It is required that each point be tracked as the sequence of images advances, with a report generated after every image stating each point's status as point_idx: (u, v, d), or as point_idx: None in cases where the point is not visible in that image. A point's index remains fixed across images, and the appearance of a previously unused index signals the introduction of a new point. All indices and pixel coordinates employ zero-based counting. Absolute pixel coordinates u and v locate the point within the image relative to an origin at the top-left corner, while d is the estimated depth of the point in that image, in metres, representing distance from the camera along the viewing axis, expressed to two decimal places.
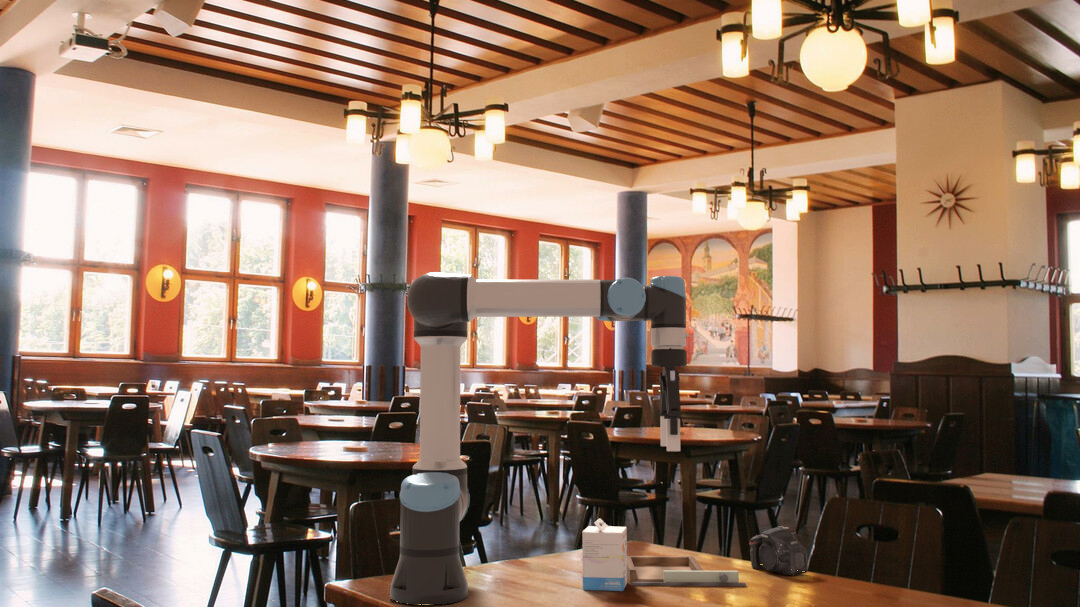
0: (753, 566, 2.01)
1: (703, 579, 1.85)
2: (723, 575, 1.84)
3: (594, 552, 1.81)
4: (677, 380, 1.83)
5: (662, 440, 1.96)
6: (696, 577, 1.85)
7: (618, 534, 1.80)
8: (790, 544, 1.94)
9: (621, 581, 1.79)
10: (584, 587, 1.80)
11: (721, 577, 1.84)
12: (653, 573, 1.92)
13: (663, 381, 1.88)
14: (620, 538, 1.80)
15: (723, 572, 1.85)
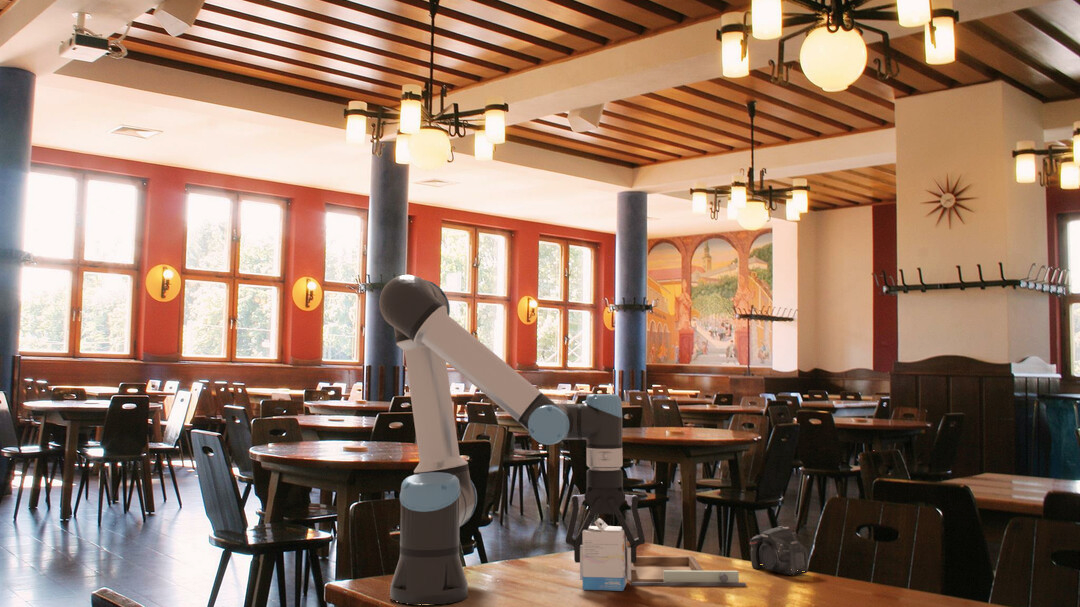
0: (753, 566, 2.01)
1: (703, 579, 1.85)
2: (723, 575, 1.84)
3: (594, 552, 1.81)
4: (573, 506, 1.84)
5: None
6: (696, 577, 1.85)
7: (618, 534, 1.80)
8: (790, 544, 1.94)
9: (621, 581, 1.79)
10: (584, 587, 1.80)
11: (721, 577, 1.84)
12: (653, 573, 1.92)
13: None
14: (620, 538, 1.80)
15: (723, 572, 1.85)
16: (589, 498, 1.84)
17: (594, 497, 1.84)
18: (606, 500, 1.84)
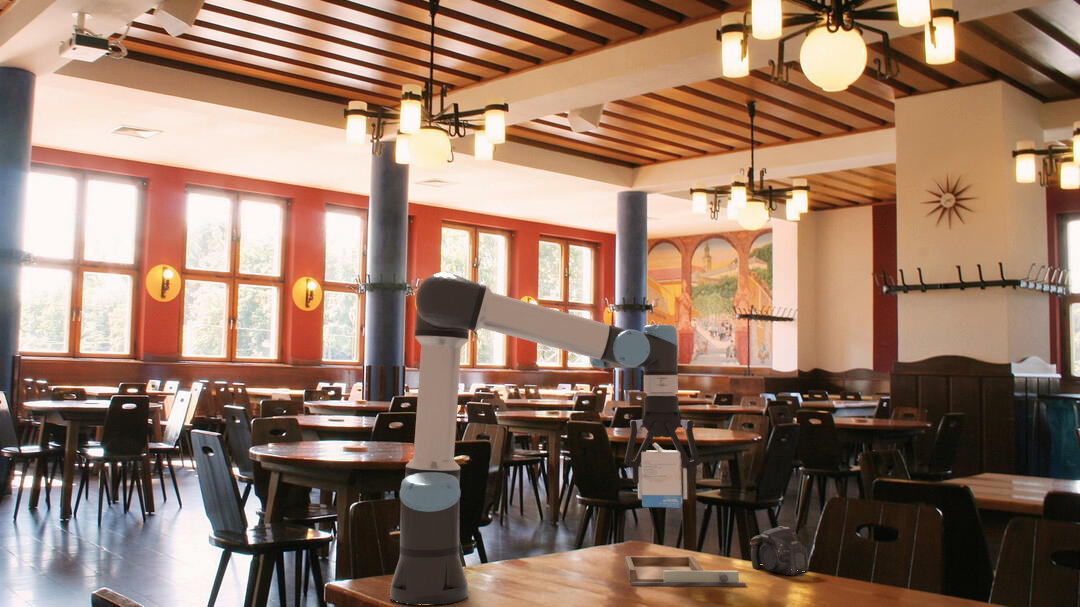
0: (754, 566, 2.01)
1: (703, 579, 1.85)
2: (723, 575, 1.84)
3: (652, 471, 1.92)
4: (631, 430, 1.95)
5: (682, 491, 1.96)
6: (696, 577, 1.85)
7: (675, 454, 1.91)
8: (790, 544, 1.94)
9: (678, 498, 1.90)
10: (643, 504, 1.91)
11: (721, 577, 1.84)
12: (653, 573, 1.92)
13: None
14: (677, 458, 1.91)
15: (723, 572, 1.85)
16: (647, 422, 1.95)
17: (651, 421, 1.95)
18: (663, 424, 1.95)
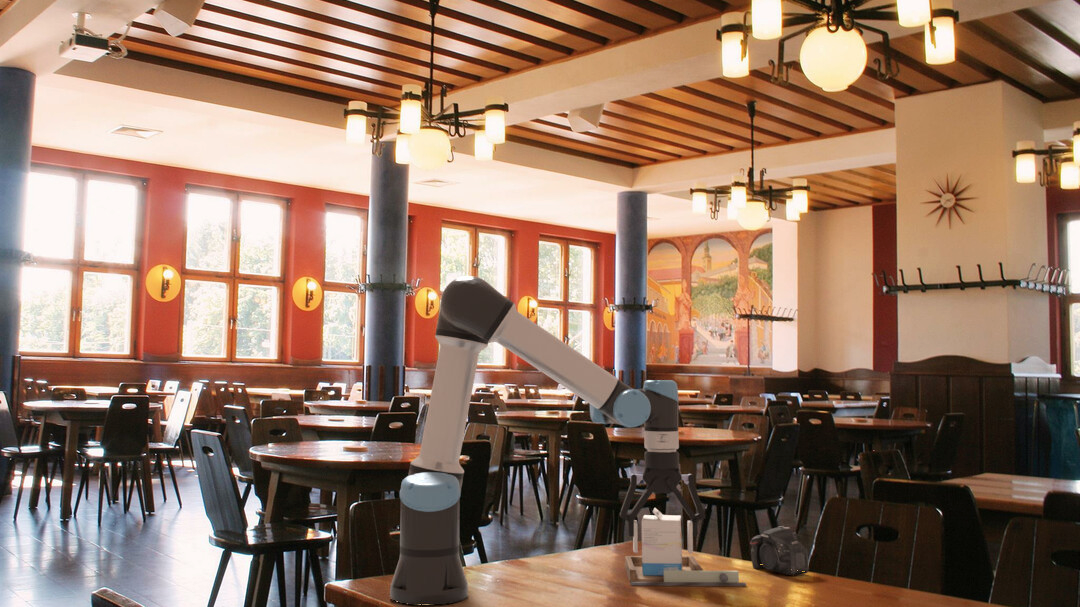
0: (754, 566, 2.01)
1: (703, 579, 1.85)
2: (723, 575, 1.84)
3: (653, 539, 1.90)
4: (631, 484, 1.94)
5: None
6: (696, 577, 1.85)
7: (676, 522, 1.90)
8: (791, 544, 1.94)
9: (679, 566, 1.89)
10: (644, 572, 1.90)
11: (721, 577, 1.84)
12: None
13: None
14: (678, 526, 1.90)
15: (723, 572, 1.85)
16: (647, 478, 1.94)
17: (652, 478, 1.94)
18: (663, 481, 1.94)
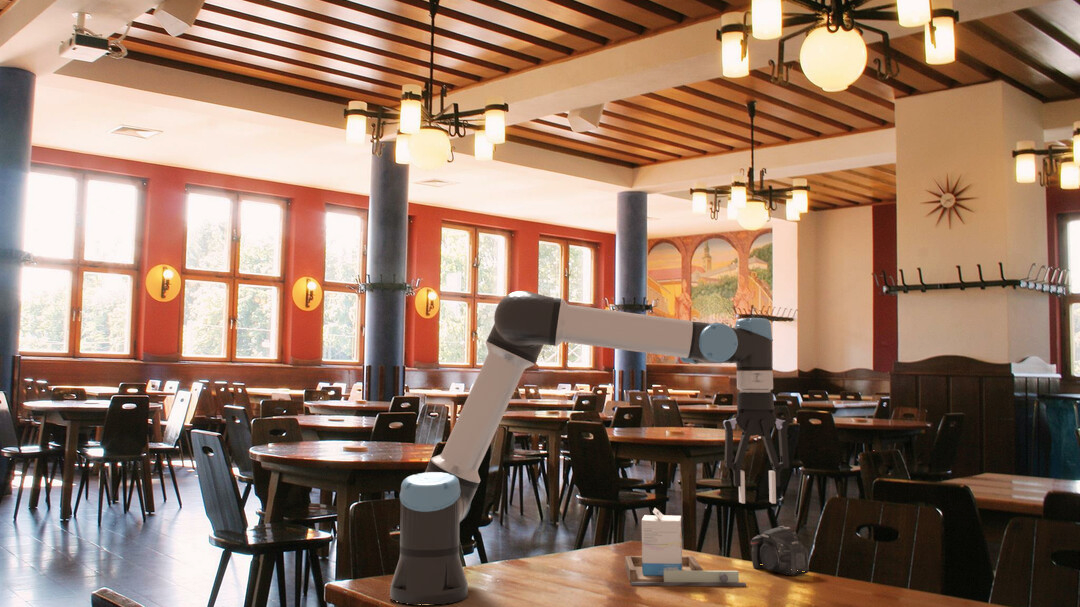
0: (754, 566, 2.01)
1: (703, 579, 1.85)
2: (723, 575, 1.84)
3: (653, 539, 1.90)
4: (727, 431, 1.87)
5: (769, 495, 1.88)
6: (696, 577, 1.85)
7: (676, 522, 1.90)
8: (791, 544, 1.94)
9: (679, 567, 1.89)
10: (644, 573, 1.90)
11: (721, 577, 1.84)
12: None
13: None
14: (678, 526, 1.90)
15: (723, 572, 1.85)
16: (741, 420, 1.87)
17: (746, 418, 1.87)
18: (758, 421, 1.87)
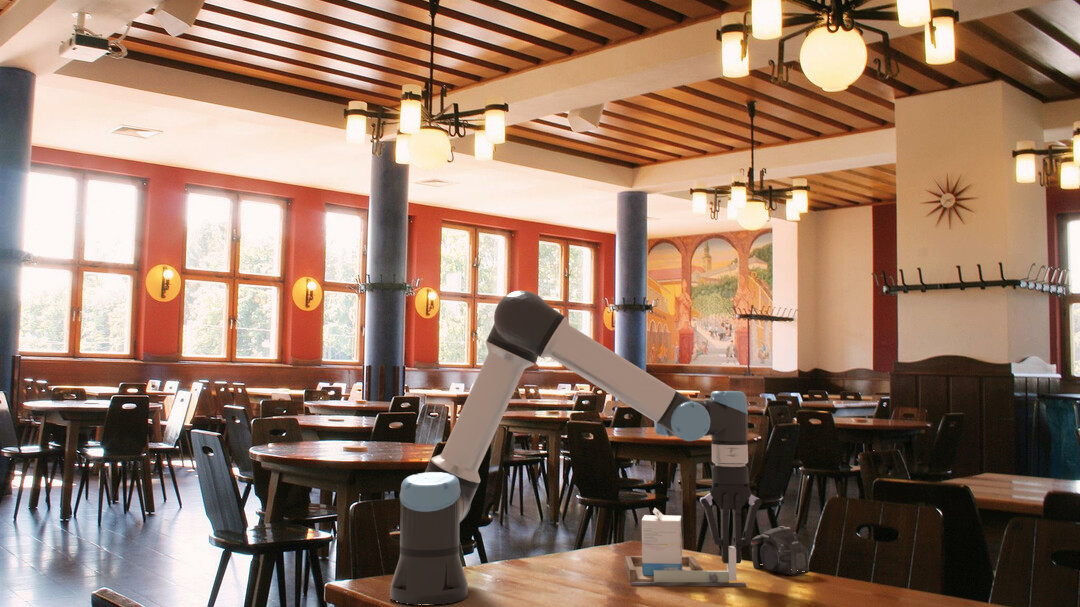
0: (755, 566, 2.01)
1: (693, 579, 1.85)
2: (713, 575, 1.84)
3: (653, 539, 1.90)
4: (705, 509, 1.86)
5: None
6: (686, 577, 1.85)
7: (676, 522, 1.90)
8: (791, 544, 1.94)
9: (679, 567, 1.89)
10: (644, 572, 1.90)
11: (711, 577, 1.84)
12: None
13: None
14: (678, 526, 1.90)
15: (713, 572, 1.85)
16: (716, 494, 1.86)
17: (720, 491, 1.86)
18: (733, 494, 1.86)
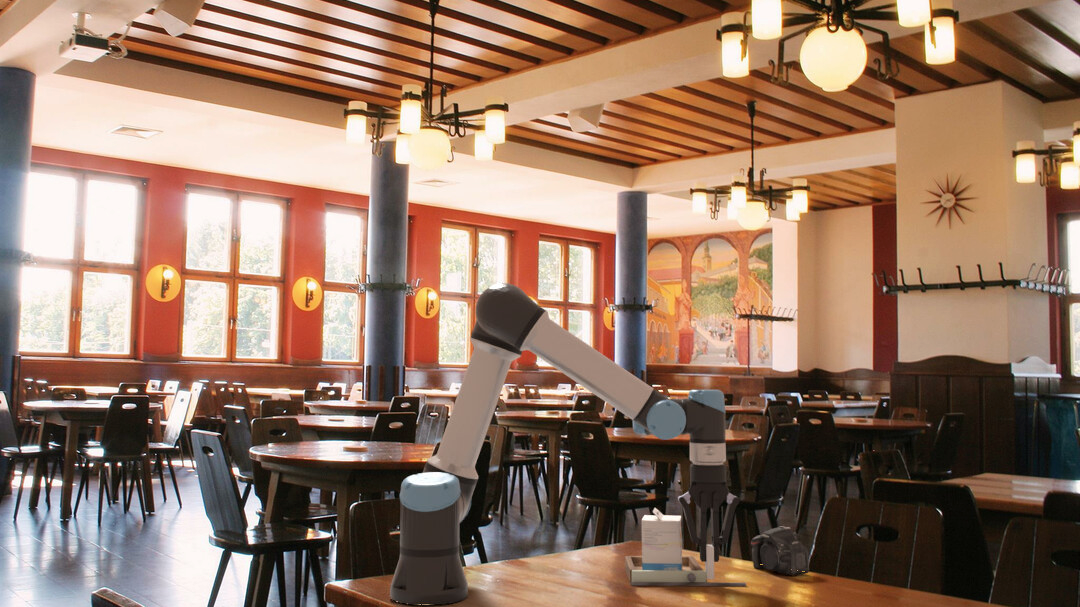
0: (755, 566, 2.01)
1: (671, 579, 1.85)
2: (691, 575, 1.84)
3: (653, 539, 1.90)
4: (683, 507, 1.86)
5: None
6: (664, 576, 1.85)
7: (676, 522, 1.90)
8: (791, 544, 1.94)
9: (679, 567, 1.89)
10: None
11: (689, 577, 1.84)
12: None
13: None
14: (678, 526, 1.90)
15: (691, 572, 1.85)
16: (694, 493, 1.86)
17: (698, 489, 1.86)
18: (711, 492, 1.86)
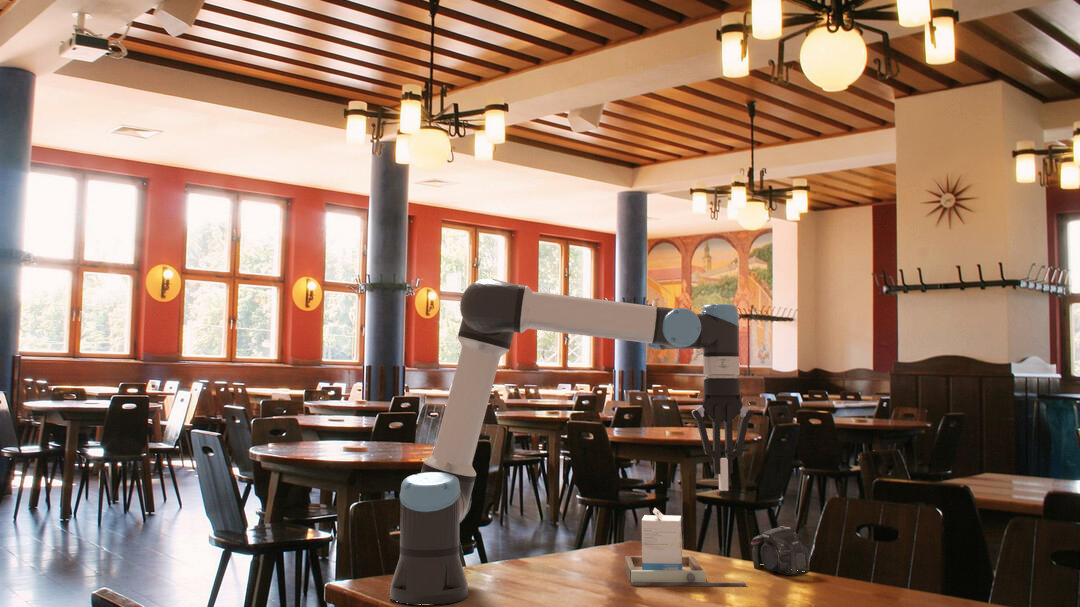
0: (755, 566, 2.01)
1: (670, 579, 1.85)
2: (690, 575, 1.84)
3: (653, 539, 1.90)
4: (697, 420, 1.87)
5: None
6: (663, 576, 1.85)
7: (676, 522, 1.90)
8: (791, 544, 1.94)
9: (679, 567, 1.89)
10: None
11: (688, 577, 1.84)
12: None
13: None
14: (678, 526, 1.90)
15: (690, 572, 1.85)
16: (708, 406, 1.87)
17: (712, 403, 1.87)
18: (724, 405, 1.87)
